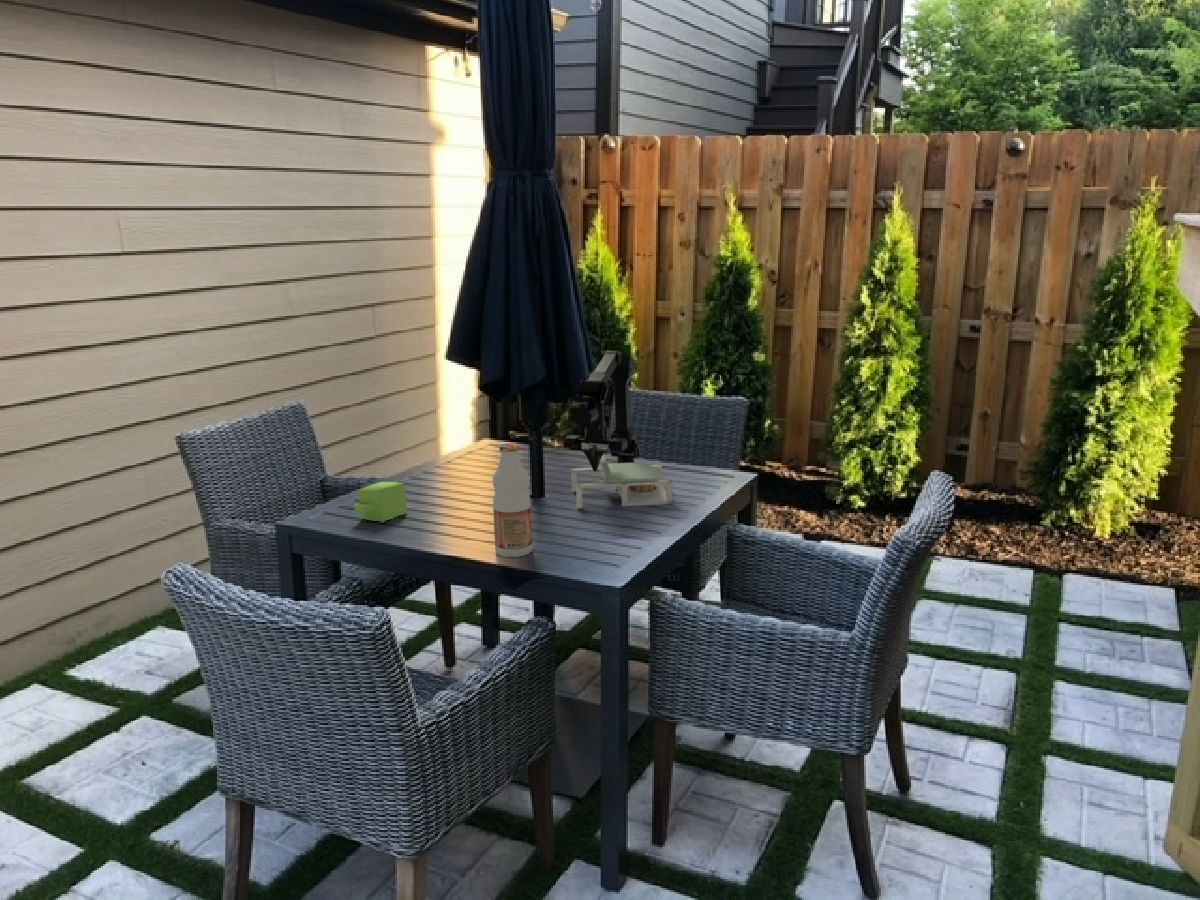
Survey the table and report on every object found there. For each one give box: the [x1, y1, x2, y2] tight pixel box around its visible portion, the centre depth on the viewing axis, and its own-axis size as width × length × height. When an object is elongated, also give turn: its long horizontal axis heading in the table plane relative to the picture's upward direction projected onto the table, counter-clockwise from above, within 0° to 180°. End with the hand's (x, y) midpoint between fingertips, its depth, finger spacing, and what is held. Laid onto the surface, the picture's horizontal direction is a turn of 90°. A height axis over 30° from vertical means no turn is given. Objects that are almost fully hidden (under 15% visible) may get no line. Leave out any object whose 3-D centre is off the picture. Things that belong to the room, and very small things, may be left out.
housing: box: [571, 464, 673, 509], centre depth 287 cm, size 19×28×7 cm
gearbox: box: [353, 481, 408, 523], centre depth 273 cm, size 18×10×10 cm, turn 152°
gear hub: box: [633, 485, 654, 492], centre depth 288 cm, size 6×6×5 cm
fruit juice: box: [492, 442, 533, 558], centre depth 239 cm, size 9×9×28 cm
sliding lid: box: [598, 454, 658, 483], centre depth 286 cm, size 19×16×4 cm
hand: (595, 470), depth 285 cm, fingers closed
